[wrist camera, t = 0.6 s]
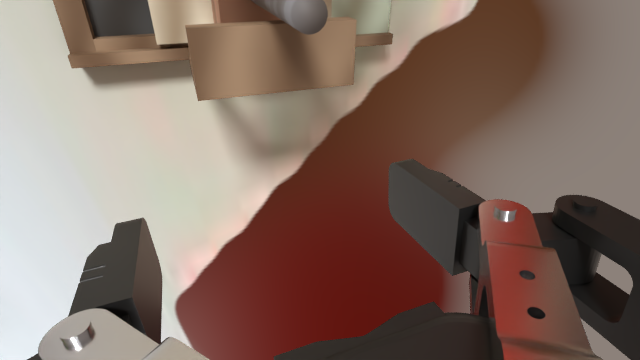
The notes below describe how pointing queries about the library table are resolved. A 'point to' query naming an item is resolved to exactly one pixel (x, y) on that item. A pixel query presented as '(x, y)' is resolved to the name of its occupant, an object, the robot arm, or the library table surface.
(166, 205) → the library table surface
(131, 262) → the robot arm
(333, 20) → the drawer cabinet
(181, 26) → the cube with grey rod
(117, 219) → the library table surface
